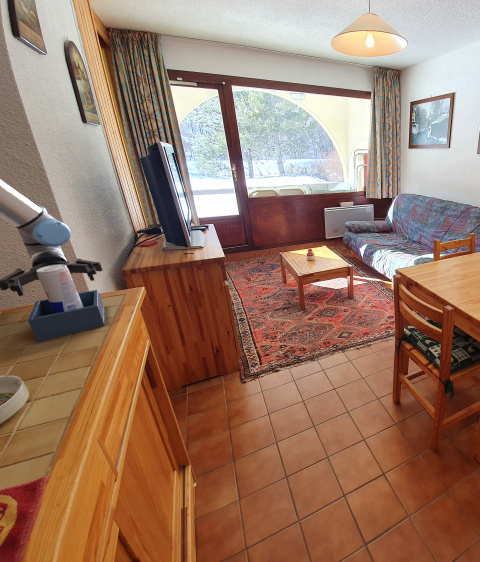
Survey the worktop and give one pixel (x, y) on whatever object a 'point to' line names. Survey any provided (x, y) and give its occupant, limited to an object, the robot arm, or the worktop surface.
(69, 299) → the beverage can
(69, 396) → the worktop surface
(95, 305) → the tote
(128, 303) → the worktop surface
